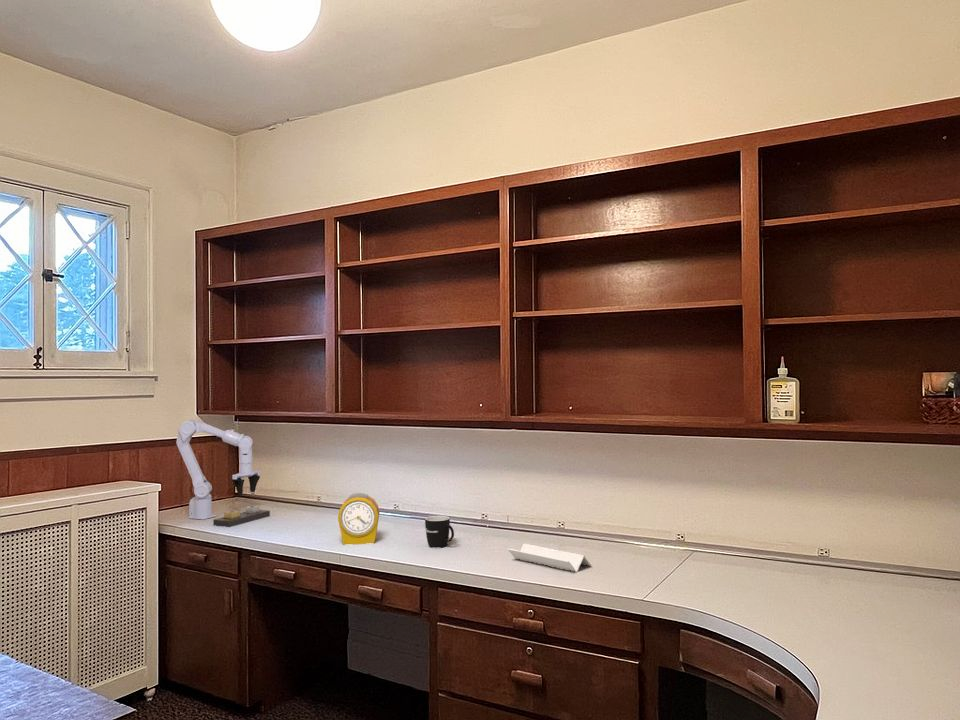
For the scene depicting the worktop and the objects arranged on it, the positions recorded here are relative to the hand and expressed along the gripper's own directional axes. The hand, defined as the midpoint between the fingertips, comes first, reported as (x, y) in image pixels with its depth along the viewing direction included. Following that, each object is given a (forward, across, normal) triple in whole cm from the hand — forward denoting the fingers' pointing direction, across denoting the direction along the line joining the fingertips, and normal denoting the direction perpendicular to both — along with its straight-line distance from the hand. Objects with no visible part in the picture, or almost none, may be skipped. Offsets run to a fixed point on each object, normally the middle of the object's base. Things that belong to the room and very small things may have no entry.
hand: (246, 493), depth 332 cm
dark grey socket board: (+10, -10, -7) cm, 15 cm away
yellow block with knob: (+10, -16, -7) cm, 20 cm away
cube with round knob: (+10, -4, -7) cm, 13 cm away
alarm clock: (+10, -21, -79) cm, 82 cm away
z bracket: (+10, -20, -156) cm, 157 cm away
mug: (+10, -14, -111) cm, 112 cm away
